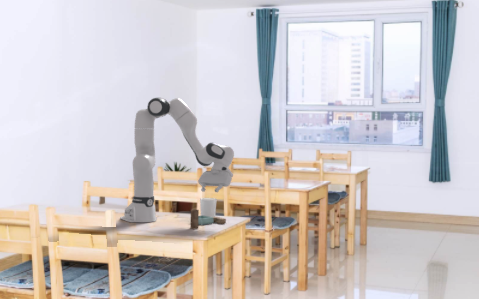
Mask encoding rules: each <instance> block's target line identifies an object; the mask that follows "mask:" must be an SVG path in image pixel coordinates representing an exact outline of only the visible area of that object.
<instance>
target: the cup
mask: <svg viewBox="0 0 479 299" xmlns="http://www.w3.org/2000/svg"><path fill="white" fill-rule="evenodd" d="M212 223H213V224H214V222H213V217H209V216H203V215H202V216H201V215H199V218H198V226H205V225H212Z"/></svg>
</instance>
